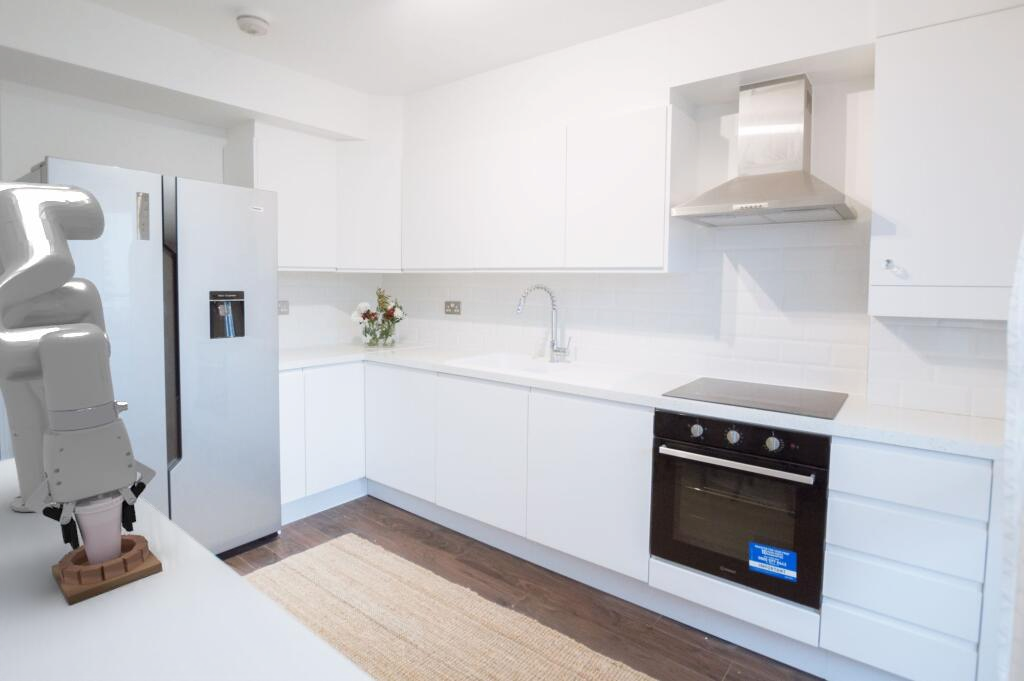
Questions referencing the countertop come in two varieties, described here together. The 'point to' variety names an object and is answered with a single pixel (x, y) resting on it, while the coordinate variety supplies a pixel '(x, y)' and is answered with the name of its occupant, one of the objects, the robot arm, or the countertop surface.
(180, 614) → the countertop surface
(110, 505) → the smoothie
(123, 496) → the robot arm
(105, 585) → the ring board
